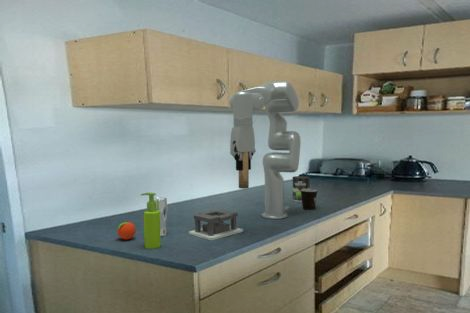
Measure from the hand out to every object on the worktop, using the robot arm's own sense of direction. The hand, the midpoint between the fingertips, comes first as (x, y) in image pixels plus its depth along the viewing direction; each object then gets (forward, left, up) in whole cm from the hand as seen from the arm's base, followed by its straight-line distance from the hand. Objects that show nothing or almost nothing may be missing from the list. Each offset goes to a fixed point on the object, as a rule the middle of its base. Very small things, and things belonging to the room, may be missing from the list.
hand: (243, 169), depth 153 cm
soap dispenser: (+33, -16, -27) cm, 46 cm away
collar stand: (+4, -12, -27) cm, 30 cm away
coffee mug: (-61, -11, -27) cm, 68 cm away
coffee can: (-80, -28, -27) cm, 89 cm away
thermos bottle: (0, 0, -7) cm, 7 cm away
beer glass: (+22, -27, -27) cm, 44 cm away
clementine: (+35, -31, -27) cm, 54 cm away
